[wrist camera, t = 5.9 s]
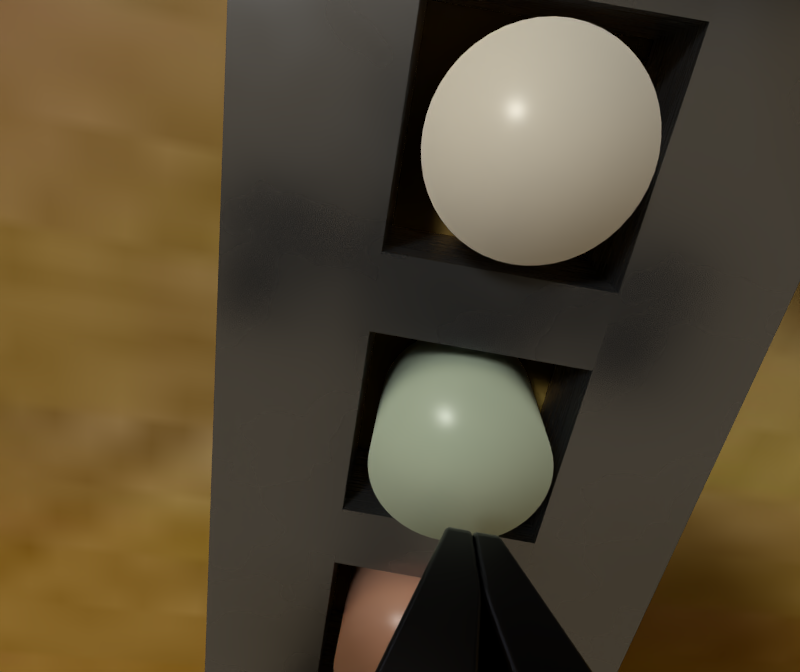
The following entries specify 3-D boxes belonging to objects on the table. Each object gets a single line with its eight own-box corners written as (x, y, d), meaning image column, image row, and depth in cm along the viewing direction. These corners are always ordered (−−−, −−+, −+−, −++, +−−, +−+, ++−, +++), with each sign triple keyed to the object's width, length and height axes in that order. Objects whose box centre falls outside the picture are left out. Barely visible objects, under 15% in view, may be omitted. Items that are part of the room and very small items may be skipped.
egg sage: (511, 473, 14) (527, 555, 11) (372, 448, 14) (356, 525, 11) (548, 346, 13) (576, 407, 10) (394, 318, 13) (381, 372, 10)
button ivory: (579, 244, 12) (618, 282, 9) (411, 214, 12) (403, 245, 9) (634, 56, 10) (698, 40, 8) (444, 23, 10) (444, -5, 8)
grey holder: (839, -12, 10) (952, -46, 8) (557, 680, 17) (574, 763, 15) (279, -111, 10) (233, -171, 8) (234, 622, 17) (204, 697, 15)
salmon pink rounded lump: (463, 636, 16) (467, 735, 14) (344, 615, 16) (325, 710, 14) (490, 544, 15) (500, 635, 12) (359, 521, 15) (343, 607, 12)
